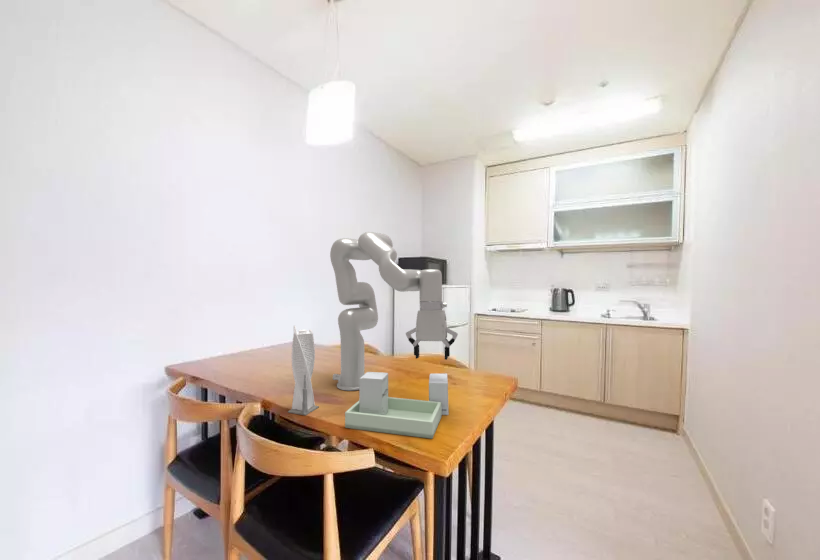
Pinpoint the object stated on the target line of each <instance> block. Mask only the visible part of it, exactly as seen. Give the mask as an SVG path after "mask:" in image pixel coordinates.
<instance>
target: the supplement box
mask: <svg viewBox="0 0 820 560" xmlns="http://www.w3.org/2000/svg"><path fill="white" fill-rule="evenodd" d="M358 393H359V394H358V395H359V399H358V401H359V412H360V413H369V414H377V415H386V413H387V412H388V397H389V373H388V372H377V371H376V372H375V371H366V372H364V375H363V376H362V377H361V378H360V379H359V390H358Z"/></svg>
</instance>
